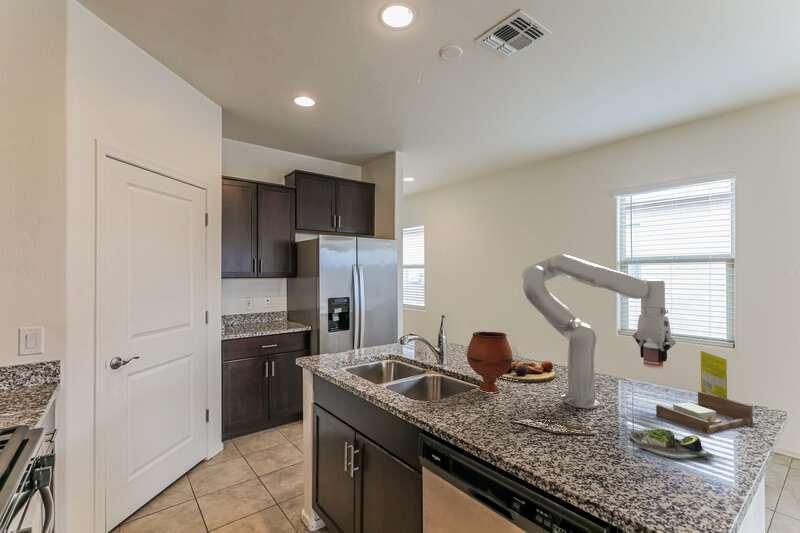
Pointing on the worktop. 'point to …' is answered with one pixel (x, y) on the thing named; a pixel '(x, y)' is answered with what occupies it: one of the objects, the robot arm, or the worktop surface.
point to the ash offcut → (702, 418)
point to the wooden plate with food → (530, 371)
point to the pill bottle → (652, 355)
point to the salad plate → (669, 444)
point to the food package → (713, 375)
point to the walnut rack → (716, 404)
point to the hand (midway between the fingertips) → (653, 358)
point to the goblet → (489, 357)
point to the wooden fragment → (566, 427)
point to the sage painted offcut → (694, 410)
